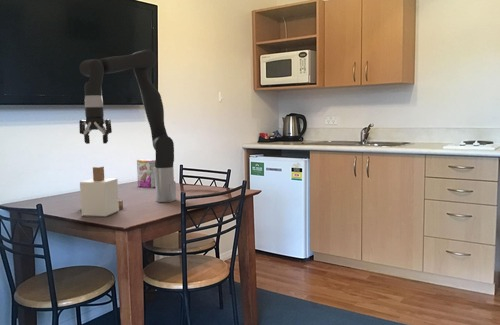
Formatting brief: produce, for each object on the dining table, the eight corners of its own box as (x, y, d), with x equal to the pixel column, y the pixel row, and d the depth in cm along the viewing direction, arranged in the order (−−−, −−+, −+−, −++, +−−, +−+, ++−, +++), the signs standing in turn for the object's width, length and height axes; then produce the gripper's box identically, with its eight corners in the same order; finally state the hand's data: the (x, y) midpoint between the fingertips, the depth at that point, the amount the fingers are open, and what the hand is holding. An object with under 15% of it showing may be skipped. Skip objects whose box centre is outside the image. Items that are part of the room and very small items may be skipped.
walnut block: (122, 207, 220) (122, 199, 220) (121, 209, 216) (121, 201, 216) (114, 208, 220) (113, 199, 219) (112, 209, 216) (112, 201, 215)
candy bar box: (137, 186, 281) (136, 159, 279) (143, 185, 285) (142, 159, 283) (151, 188, 275) (149, 160, 273) (156, 186, 279) (155, 159, 277)
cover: (119, 210, 211) (116, 165, 209) (105, 216, 200) (103, 168, 198) (96, 209, 214) (93, 165, 211) (81, 215, 202) (78, 168, 200)
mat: (117, 211, 211) (117, 210, 211) (105, 217, 200) (105, 215, 200) (96, 211, 213) (96, 209, 213) (82, 216, 203) (82, 215, 203)
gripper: (113, 106, 203) (115, 142, 205) (84, 106, 206) (86, 143, 208) (104, 105, 196) (106, 144, 198) (74, 106, 199) (76, 144, 201)
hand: (96, 143), depth 203 cm, fingers open, 8 cm apart
